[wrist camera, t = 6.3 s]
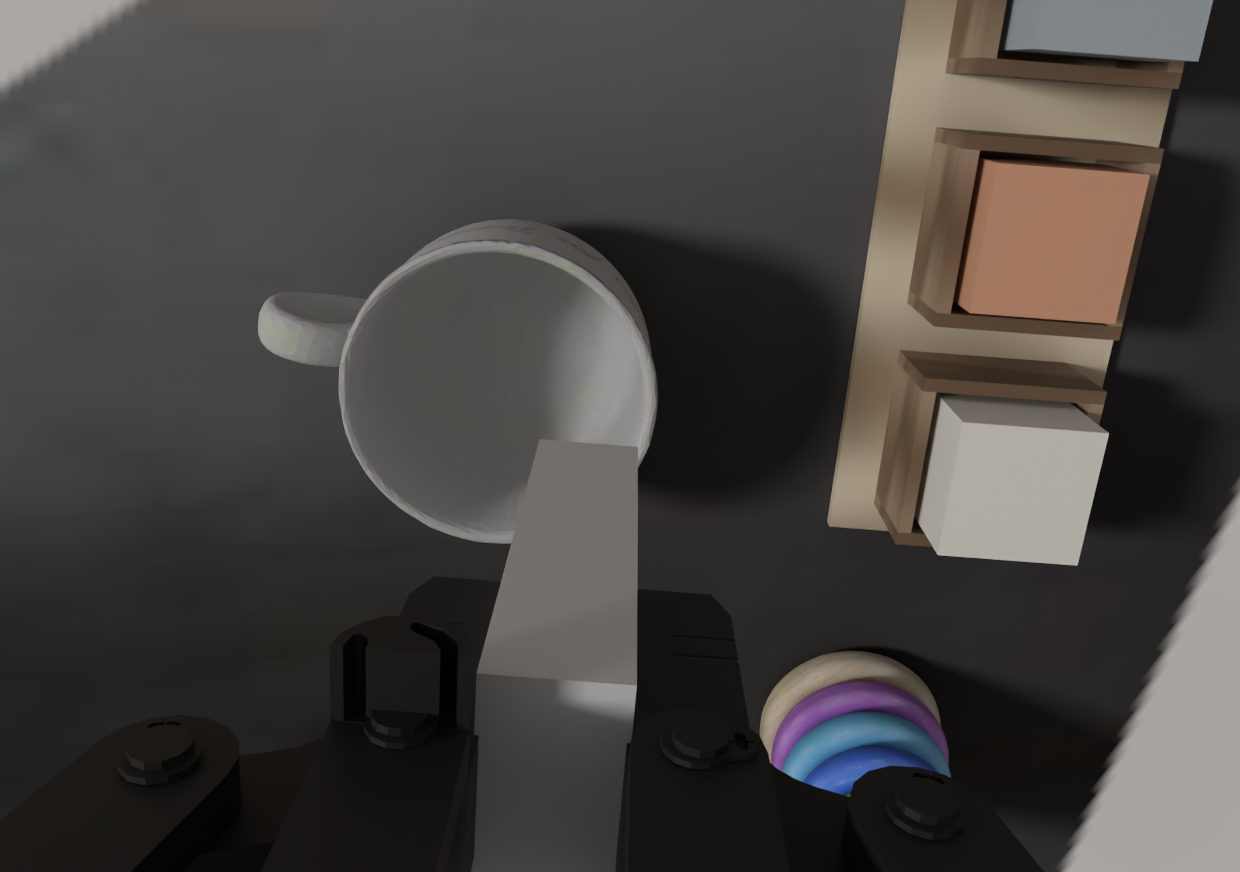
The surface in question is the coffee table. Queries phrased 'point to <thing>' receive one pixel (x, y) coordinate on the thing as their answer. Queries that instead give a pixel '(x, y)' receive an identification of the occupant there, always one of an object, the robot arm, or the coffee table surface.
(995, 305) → the button terracotta
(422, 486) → the teacup
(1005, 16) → the button slate
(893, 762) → the stacking toy
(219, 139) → the coffee table surface
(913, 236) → the button board
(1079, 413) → the button cream
